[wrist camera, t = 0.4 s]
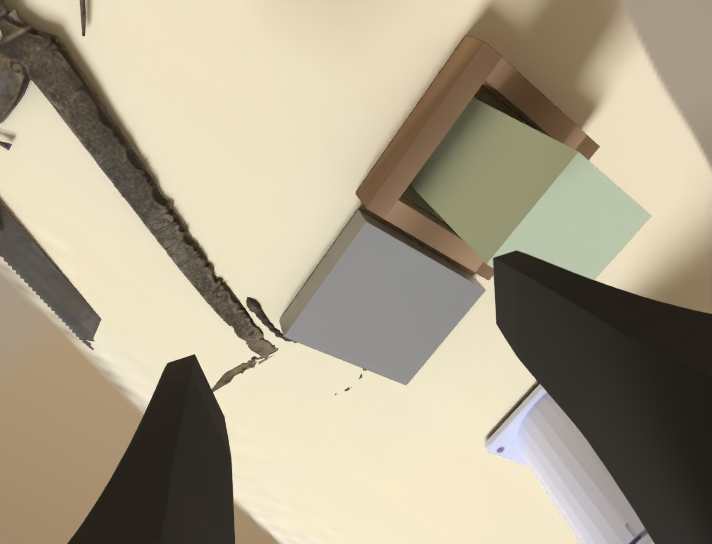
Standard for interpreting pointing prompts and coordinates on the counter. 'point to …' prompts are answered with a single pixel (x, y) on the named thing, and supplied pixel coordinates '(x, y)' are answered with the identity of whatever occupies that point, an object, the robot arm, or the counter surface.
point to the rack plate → (380, 301)
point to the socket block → (431, 124)
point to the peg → (526, 194)
